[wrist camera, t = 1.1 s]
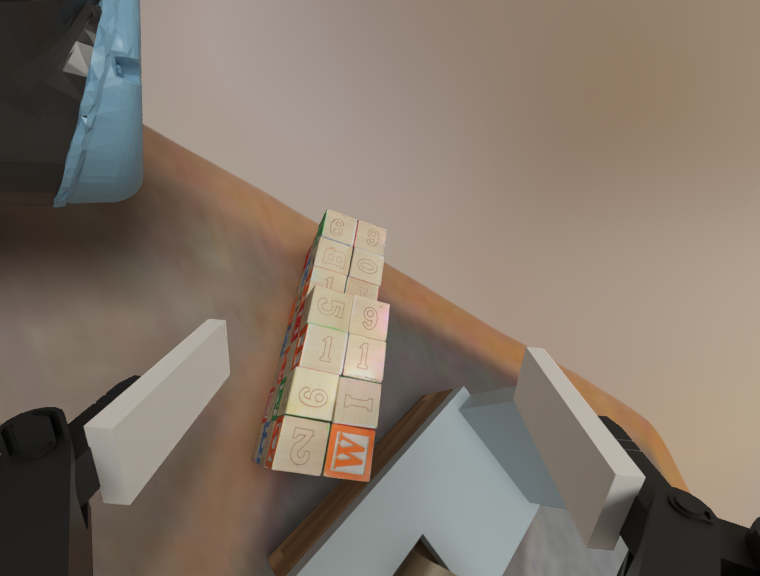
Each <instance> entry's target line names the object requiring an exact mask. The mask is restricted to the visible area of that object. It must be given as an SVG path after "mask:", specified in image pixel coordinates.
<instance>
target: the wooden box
mask: <svg viewBox="0 0 760 576" xmlns="http://www.w3.org/2000/svg"><path fill="white" fill-rule="evenodd" d="M452 391H453V389H450V390H446V391H441V392H437V393H433V394H428V395H424V396H423V397H422V398H421V399H420V400H419V401H418V402H417V403H416V404H415V405H414V406H413V407H412V408H411V409H410V410H409V411H408V412H407V413H406V414H405V415H404V416H403V417H402V418H401V420H400V421H399V422H398V423H397V424H396V425H395V426H394V427H393V428H392V429H391V430H390V431H389V432H388V433H387V434H386V435H385V436H384V437H383V438H382V439H381V440H380V441H379V442H378V444H377V445H376V446H375V447H374V448H373V455H372V464H371V473H370V481H369V482H364V481H356V480H347V479H343V480H342V481H341V482H340V483H339V484H338V485H337V486H336V487H335V488H334V489H333V490H332V491H331V493H330V494H329V495H328V496H327V497H326V498H325V499H324V500H323V501H322V502H321V503H320V504H319V505H318V506H317V507H316V508H315V509H314V510H313V511H312V512H311V513H310V514H309V515H308V516H307V518H306V519H305V520H304V521H303V522H302V523H301V524H300V525H299V526H298V527H297V528H296V529H295V530H294V531H293V532H292V533H291V534H290V535H289V536H288V537H287V538H286V539H285V540H284V542H283V543H282V544H281V545H280V546H279V547H278V548H277V549H276V550H275V551H274V552H273V553H272V554H271V555H270V556H269V557H268V558H267V559H268V561H269V563H270V565H271V567H272V569H273V571H274V573H275V575H276V576H286V575H287V574H288V573H289V571H290V570H291V569H292V568H293V567H294V566H295V565H296V564H297V563H298V561H299V560H300V559H301V558H302V557H303V556H304V555H305V554H306V553H307V551H308V550H309V549H310V548H311V547H312V546H313V545H314V544H315V543H316V541H317V540H318V539H319V538H320V537H321V536H322V535H323V534H324V533H325V531H326V530H327V529H328V528H329V527H330V526H331V525H332V524H333V523H334V522H335V520H336V519H337V518H338V517H339V516H340V515H341V514H342V513H343V512H344V510H345V509H346V508H347V507H348V506H349V505H350V504H351V503H352V502H353V500H354V499H355V498H356V497H357V496H358V495H359V494H360V493H361V492H362V490H363V489H364V488H365V487H366V486H367V485H368V484H369V483H370V482H371V480H372V479H373V478H374V477H375V476H376V475H377V474H378V473H379V472H380V470H381V469H382V468H383V467H384V466H385V465H386V464H387V463H388V462H389V461H390V459H391V458H392V457H393V456H394V455H395V454H396V453H397V452H398V451H399V449H400V448H401V447H402V446H403V445H404V444H405V443H406V442H407V441H408V439H409V438H410V437H411V436H412V435H413V434H414V433H415V432H416V431H417V429H418V428H419V427H420V426H421V425H422V424H423V423H424V422H425V421H426V419H427V418H428V417H429V416H430V415H431V414H432V413H433V412H434V411H435V409H436V408H437V407H438V406H439V405H440V404H441V403H442V402H443V401H444V400H445V398H446V397H447V396H448V395H449V394H450V393H451V392H452ZM411 551H413V552H415V553H417V554H418V555H420V556H422V557H424V558H426V559H428V560H430V561H432V562H433V563H435V564H437V565H439V564H438V562H437V561H436V560H435V558H434V557H433V556H432V554H431V553H430V552H429V550H428V549H427V547H426V546H425V545H424V543H423V542H422V541H421V539H420V538H419V540H418V541H417V542H416V544H415V545H414V547H413V548H412V549H411ZM439 566H440V565H439Z"/></svg>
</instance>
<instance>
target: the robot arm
mask: <svg viewBox="0 0 760 576" xmlns="http://www.w3.org/2000/svg"><path fill="white" fill-rule="evenodd" d="M143 177H144V168H143V125H142V84H141V29H140V0H0V204H10V205H52V206H53V207H64V206H66V205H67V204H73V203H108V202H120V201H123V200H126V199H128V198H130V197H131V196H133V195H134V194H135V193H137V192H138V190H139V189H140V187H141V185H142V183H143ZM229 375H230V367H229V354H228V341H227V329H226V320H215V319H208V320H207V321H205V322H204V323H203V324H202V325H201V326H200V327H198V328H197V329H196V330H195V331H194V332H193V333H191V334H190V335H189V336H188V337H187V338H186V339H184V340H183V341H182V342H181V343H180V344H179V345H178V346H176V347H175V348H174V349H173V350H172V351H171V352H169V353H168V354H167V355H166V356H165V357H164V358H162V359H161V360H160V361H159V362H158V363H157V364H155V365H154V366H153V367H152V368H151V369H150V370H148V371H147V372H146V373H145V374H144V375H143V376H136V375H134V376H132V377H130V378H128V379H126V380H124V381H122V382H120V383H118V384H117V385H116V386H115V387H113V388H112V389H111V390H110V391H108V392H107V393H106V395H103V396H102V397H101V398H100V399H99V400H97V401H96V403H95V404H92V405H91V406H90V407H89V408H87V409H86V410H85V411H84V412H83V413H81V414H80V415H79V416H78V417H76V418H75V419H74V420H73V421H71V422H70V423H69V424H68V425H67V421H66V418H65V414H64V412H63V410H61V409H59V408H56V407H44V408H38V409H33V410H30V411H27V412H24V413H21V414H19V415H17V416H15V417H13V418H11V419H9V420H7V421H6V422H5V423H3V424H2V425H1V426H0V453H1V455H0V576H93V558H92V528H91V507H90V504H89V499H90V498H91V497H92V496H93V495H94V493H95V492H96V491H97V490H98V489H99V488H100V492H101V495H102V499H103V503H109V504H120V505H131V503H132V502H133V501H134V499H135V498H136V497H137V495H138V494H139V493H140V491H141V490H142V489H143V488H144V486H145V485H146V484H147V482H148V481H149V480H150V478H151V477H152V476H153V474H154V473H155V472H156V470H157V469H158V468H159V467H160V465H161V464H162V463H163V461H164V460H165V459H166V457H167V456H168V455H169V453H170V452H171V451H172V450H173V448H174V447H175V446H176V444H177V443H178V442H179V440H180V439H181V438H182V436H183V435H184V434H185V433H186V431H187V430H188V429H189V427H190V426H191V425H192V423H193V422H194V421H195V419H196V418H197V417H198V416H199V414H200V413H201V412H202V410H203V409H204V408H205V406H206V405H207V404H208V402H209V401H210V400H211V399H212V397H213V396H214V395H215V393H216V392H217V391H218V389H219V388H220V387H221V385H222V384H223V383H224V382H225V380H226V379H227V378H228V376H229ZM513 400H514V402H515V404H516V406H517V408H518V410H519V412H520V414H521V416H522V419H523V421H524V423H525V425H526V427H527V429H528V431H529V433H530V435H531V437H532V439H533V441H534V443H535V445H536V447H537V449H538V451H539V453H540V455H541V457H542V459H543V461H544V463H545V465H546V467H547V469H548V471H549V473H550V475H551V477H552V479H553V481H554V483H555V485H556V487H557V489H558V491H559V493H560V495H561V498H562V500H563V502H564V504H565V506H566V508H567V510H568V512H569V514H570V516H571V518H572V520H573V522H574V524H575V526H576V528H577V530H578V532H579V534H580V536H581V538H582V540H583V542H584V544H585V546H586V548H594V549H605V550H614V548H615V545H616V543H617V541H618V539H619V536H621V537H622V539H623V541H624V542H625V544H626V546H627V547H628V549H629V550H628V552H627V554H626V556H625V559H624V561H623V563H622V565H621V567H620V569H619V571H618V574H617V576H760V517H758V518H757V519H756V520H755V521H754V523H753V524H752V526H751V527H750V529H749V528H746V527H743V526H740V525H737V524H734V523H731V522H728V521H725V520H722V519H719V518H717V517H716V515H715V514H714V513H713V512H712V510H711V509H710V508H709V507H708V506H707V505H705V504H704V503H703V502H702V501H701V500H699V499H698V498H696V497H694V496H693V495H691V494H690V493H688V492H685V491H683V490H680V489H678V488H675V487H671V485H670V484H669V483H668V482H667V481H666V480H665V478H664V477H663V476H662V475H661V474H660V472H659V471H658V470H657V469H656V468H655V467H654V465H653V464H652V463H651V462H650V461H649V459H648V458H647V457H646V456H645V455H644V454H643V452H640V449H639V448H638V446H637V445H636V444H635V443H634V442H632V439H631V438H630V437H629V436H628V435H627V433H626V432H625V431H624V430H623V429H622V428H621V427H620V426H619V425H617V424H616V423H615V422H613V421H612V420H611V419H609V418H608V417H606V416H597V415H596V414H595V412H594V411H593V410H592V409H591V407H590V406H589V405H588V404H587V402H586V401H585V400H584V398H583V397H582V396H581V395H580V393H579V392H578V391H577V390H576V388H575V387H574V386H573V385H572V383H571V382H570V381H569V379H568V378H567V377H566V376H565V374H564V373H563V372H562V371H561V369H560V368H559V367H558V366H557V364H556V363H555V362H554V360H553V359H552V358H551V357H550V355H549V354H548V353H547V352H546V350H545V349H544V348H534V347H526V350H525V354H524V358H523V362H522V366H521V370H520V374H519V378H518V382H517V386H516V390H515V394H514V398H513Z"/></svg>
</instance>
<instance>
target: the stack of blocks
mask: <svg viewBox="0 0 760 576" xmlns="http://www.w3.org/2000/svg"><path fill="white" fill-rule="evenodd" d="M386 234H387V230H385V229H382V228H380V227H377V226H374V225H372V224H369V223H366V222H364V221H361V220H356V219H353V218H351V217H348V216H346V215H343V214H340V213H338V212H335V211H332V210H329V209H328V210H326V212H325V214H324V217H323V219H322V221H321V223H320V225H319V229H318V232H317V234H316V236H315V238H314V240H313V243H312V245H311V247H310V249H309V251H308V254H307V257H306V261H305V265H304V269H303V273H302V276H301V278H300V281H299V285H298V289H297V293H296V297H295V301H294V304H293V308H292V311H291V315H290V319H289V323H288V326H287V329H288V330H287V333H286V337H285V341H284V344H283V348H282V352H281V356H280V360H279V364H278V368H277V371H276V375H275V379H274V383H273V387H272V390H271V391H270V395H269V398H268V402H267V406H266V410H265V413H264V417H263V421H262V424H261V427H260V431H259V434H258V438H257V442H256V445H255V449H254V453H253V456H252V461H254V462H257V463H258V464H259V465H260V466H261V467H263V468H265V469H271V470H279V471H286V472H293V473H301V474H308V475H315V476H320V475H322V476H326V477H332V478H340V479H347V480H356V481H364V482H369V481H370V473H371V464H372V455H373V448H374V439H375V429H376V428H377V425H378V415H379V405H380V395H381V384H380V383H381V382H382V380H383V373H384V363H385V352H386V342H385V341H386V338H387V328H388V318H389V308H390V305H389V304H386V303H383V302H379V301H377V300H378V293H379V287H380V285H381V279H382V272H383V264H384V257H383V255H384V250H385V243H386V236H387V235H386Z"/></svg>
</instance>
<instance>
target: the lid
mask: <svg viewBox="0 0 760 576" xmlns="http://www.w3.org/2000/svg"><path fill="white" fill-rule="evenodd" d="M515 390H516V386H515V387H510V388H504V389H499V390H494V391H489V392H484V393H478V394H473V395H470V394H469V392H468V391H467V390H466V388H465V387H464V386H463V387H458V388H454V390H453V391H452V392H451V393H450V394H449V395H448V396H447V397H446V398H445V400H444V401H443V402H442V403H441V404H440V405H439V406H438V407H437V408H436V409H435V411H434V412H433V413H432V414H431V415H430V416H429V417H428V418H427V419H426V421H425V422H424V423H423V424H422V425H421V426H420V427H419V428H418V429H417V431H416V432H415V433H414V434H413V435H412V436H411V437H410V438H409V439H408V441H407V442H406V443H405V444H404V445H403V446H402V447H401V448H400V449H399V451H398V452H397V453H396V454H395V455H394V456H393V457H392V458H391V459H390V461H389V462H388V463H387V464H386V465H385V466H384V467H383V468H382V469H381V470H380V472H379V473H378V474H377V475H376V476H375V477H374V478H373V479H372V480H371V482H370V483H369V484H368V485H367V486H366V487H365V488H364V489H363V490H362V492H361V493H360V494H359V495H358V496H357V497H356V498H355V499H354V500H353V502H352V503H351V504H350V505H349V506H348V507H347V508H346V509H345V510H344V512H343V513H342V514H341V515H340V516H339V517H338V518H337V519H336V520H335V522H334V523H333V524H332V525H331V526H330V527H329V528H328V529H327V530H326V531H325V533H324V534H323V535H322V536H321V537H320V538H319V539H318V540H317V541H316V543H315V544H314V545H313V546H312V547H311V548H310V549H309V550H308V551H307V553H306V554H305V555H304V556H303V557H302V558H301V559H300V560H299V561H298V563H297V564H296V565H295V566H294V567H293V568H292V569H291V570H290V571H289V573H288V574H287V575H286V576H393V574H394V573H395V571H396V570H397V569H398V567H399V566H400V564H401V563H402V562H403V560H404V559H405V558H406V556H407V555H408V553H409V552H410V551H411V549H412V548H413V547H414V545H415V544H416V542H417V541H418V540H419V538H420V539H421V541H422V542H423V543H424V545H425V546H426V547H427V549H428V550H429V552H430V553H431V554H432V556H433V557H434V558H435V560H436V561H437V562H438V564H439V565H440V566H441V567H443V568H445V569H446V570H448V571H450V572H452V573H454V574H456V575H458V576H502V575H503V573H504V571H505V569H506V567H507V565H508V564H509V562H510V560H511V558H512V556H513V554H514V553H515V551H516V549H517V547H518V545H519V543H520V542H521V540H522V538H523V536H524V534H525V532H526V531H527V529H528V527H529V525H530V523H531V521H532V520H533V518H534V516H535V514H536V512H537V511H538V509H539V507H540V505H545V506H551V507H556V508H562V509H567V508H566V506H565V504H564V502H563V500H562V498H561V495H560V493H559V491H558V489H557V487H556V485H555V483H554V481H553V479H552V477H551V475H550V473H549V471H548V469H547V467H546V465H545V463H544V461H543V459H542V457H541V455H540V453H539V451H538V449H537V447H536V445H535V443H534V441H533V439H532V437H531V435H530V433H529V431H528V429H527V427H526V425H525V423H524V421H523V419H522V416H521V414H520V412H519V410H518V408H517V406H516V404H515V402H514V400H513V398H514V394H515Z"/></svg>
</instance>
